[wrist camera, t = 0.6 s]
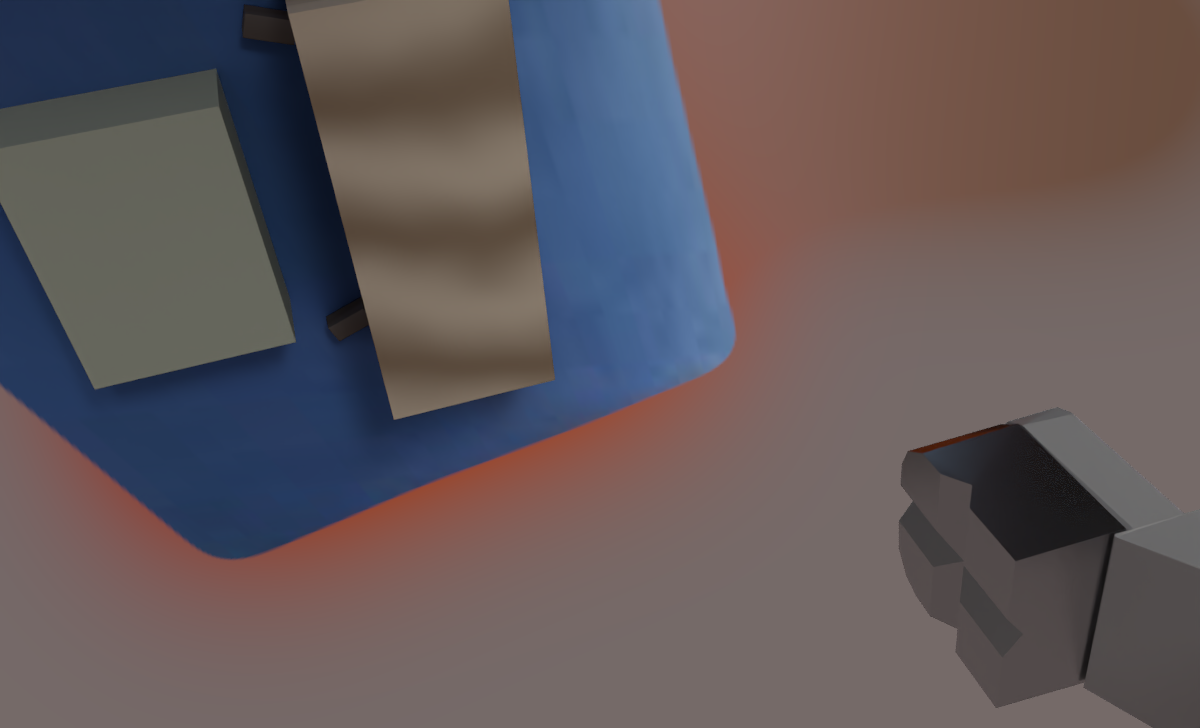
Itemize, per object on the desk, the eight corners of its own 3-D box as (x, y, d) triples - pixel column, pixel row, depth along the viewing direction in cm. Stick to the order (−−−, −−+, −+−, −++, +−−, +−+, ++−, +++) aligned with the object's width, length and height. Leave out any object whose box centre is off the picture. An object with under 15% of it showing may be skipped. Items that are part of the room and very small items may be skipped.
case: (-11, 107, 43) (-25, 153, 40) (215, 65, 45) (218, 106, 42) (99, 336, 51) (94, 389, 48) (289, 293, 53) (295, 342, 50)
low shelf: (224, -33, 42) (229, 24, 38) (472, -74, 44) (505, -25, 40) (337, 354, 55) (351, 430, 51) (525, 310, 57) (554, 379, 53)
